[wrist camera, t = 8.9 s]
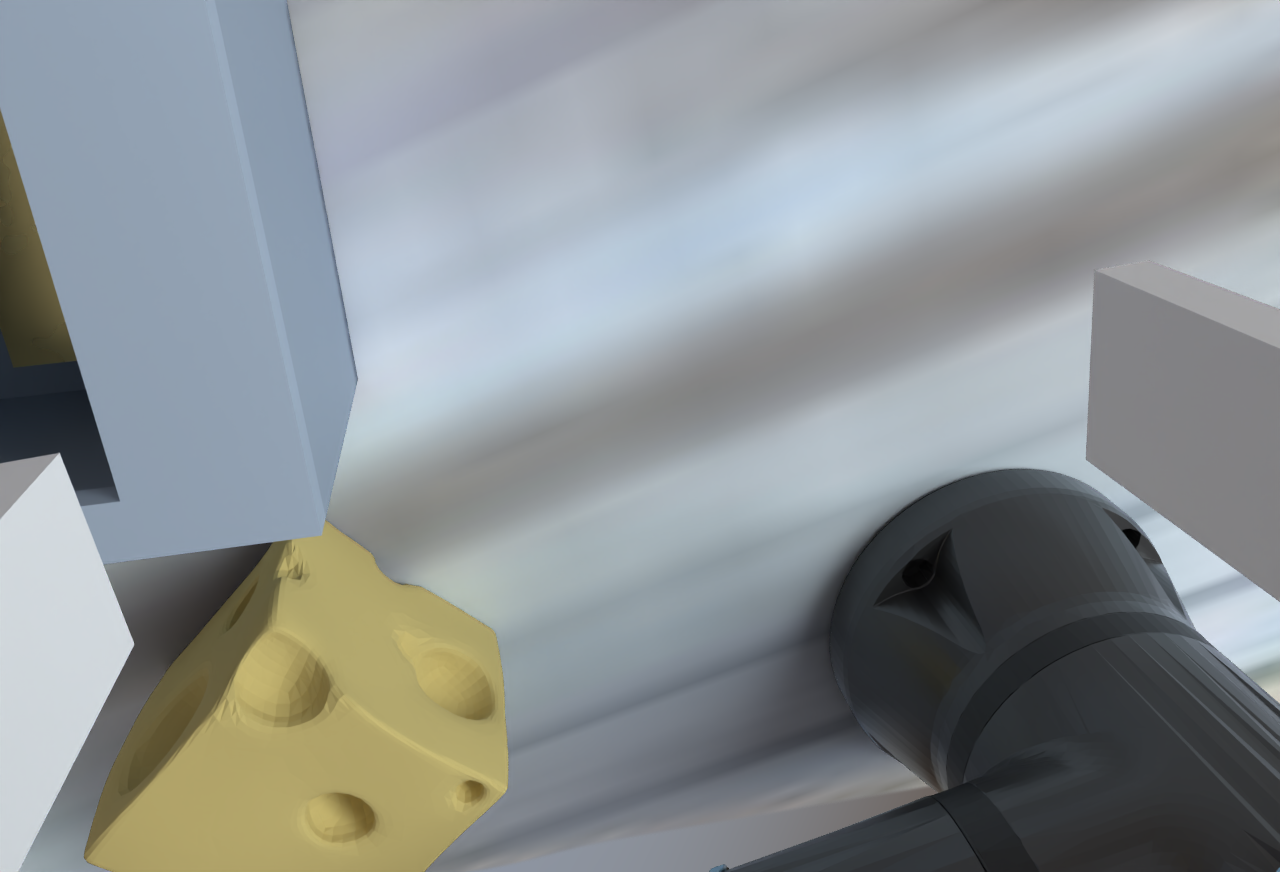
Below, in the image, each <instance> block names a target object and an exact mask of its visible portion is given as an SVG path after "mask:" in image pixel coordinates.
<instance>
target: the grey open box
mask: <svg viewBox="0 0 1280 872" xmlns="http://www.w3.org/2000/svg"><path fill="white" fill-rule="evenodd" d="M0 109H1V113H2V116H3V119H4V123H5V126H6V129H7V132H8V136H9V139H10V142H11V145H12V149H13V152H14V155H15V159H16V162H17V165H18V168H19V172H20V175H21V178H22V181H23V185H24V188H25V191H26V195H27V198H28V201H29V204H30V208H31V211H32V214H33V218H34V221H35V224H36V227H37V231H38V234H39V237H40V240H41V244H42V247H43V250H44V254H45V257H46V260H47V263H48V267H49V270H50V273H51V276H52V280H53V283H54V286H55V290H56V293H57V296H58V299H59V303H60V306H61V309H62V312H63V316H64V319H65V322H66V326H67V329H68V332H69V335H70V339H71V342H72V345H73V349H74V352H75V355H76V358H77V361H70V362H61V363H52V364H43V365H33V366H24V367H15V368H13V365H12V362H11V359H10V356H9V353H8V350H7V347H6V344H5V341H4V338H3V335H2V332H1V329H0V463H5V462H11V461H17V460H22V459H28V458H34V457H39V456H45V455H51V454H56V453H60V455H61V458H62V460H63V463H64V466H65V468H66V471H67V473H68V476H69V478H70V481H71V483H72V486H73V489H74V491H75V494H76V496H77V499H78V501H79V504H80V506H81V509H82V512H83V514H84V517H85V519H86V522H87V524H88V527H89V529H90V532H91V535H92V537H93V540H94V542H95V545H96V547H97V550H98V552H99V555H100V558H101V560H102V563H103V564H110V563H118V562H125V561H133V560H140V559H148V558H156V557H163V556H171V555H178V554H186V553H193V552H201V551H208V550H216V549H223V548H231V547H238V546H246V545H253V544H261V543H269V542H276V541H284V540H291V539H299V538H306V537H314V536H321V535H322V532H323V527H324V523H325V519H326V515H327V510H328V506H329V502H330V497H331V493H332V489H333V484H334V480H335V476H336V471H337V467H338V463H339V458H340V454H341V450H342V445H343V441H344V437H345V432H346V428H347V424H348V420H349V415H350V411H351V407H352V402H353V398H354V394H355V389H356V385H357V381H358V378H357V372H356V367H355V362H354V356H353V351H352V346H351V340H350V335H349V330H348V324H347V319H346V314H345V308H344V303H343V298H342V292H341V287H340V282H339V276H338V271H337V266H336V260H335V255H334V250H333V244H332V239H331V234H330V228H329V223H328V218H327V213H326V207H325V202H324V197H323V191H322V186H321V181H320V175H319V170H318V165H317V159H316V154H315V149H314V143H313V138H312V133H311V127H310V122H309V117H308V111H307V106H306V101H305V95H304V90H303V85H302V79H301V74H300V69H299V63H298V58H297V53H296V48H295V42H294V37H293V32H292V26H291V21H290V16H289V10H288V5H287V0H0Z"/></svg>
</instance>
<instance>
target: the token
mask: <svg viewBox="0 0 1280 872" xmlns="http://www.w3.org/2000/svg"><path fill="white" fill-rule="evenodd" d="M0 329H1V332H2V335H3V338H4V341H5V344H6V347H7V350H8V353H9V356H10V359H11V362H12V365H13V368H15V367H24V366H33V365H43V364H52V363H61V362H70V361H77V358H76V355H75V352H74V349H73V345H72V342H71V339H70V335H69V332H68V329H67V326H66V322H65V319H64V316H63V312H62V309H61V306H60V303H59V299H58V296H57V293H56V290H55V286H54V283H53V280H52V276H51V273H50V270H49V267H48V263H47V260H46V257H45V254H44V250H43V247H42V244H41V240H40V237H39V234H38V231H37V227H36V224H35V221H34V218H33V214H32V211H31V208H30V204H29V201H28V198H27V195H26V191H25V188H24V185H23V181H22V178H21V175H20V172H19V168H18V165H17V162H16V159H15V155H14V152H13V149H12V145H11V142H10V139H9V136H8V132H7V129H6V126H5V123H4V119H3V116H2V113H1V109H0Z"/></svg>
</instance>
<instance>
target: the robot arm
mask: <svg viewBox="0 0 1280 872" xmlns="http://www.w3.org/2000/svg"><path fill="white" fill-rule="evenodd" d="M1086 460H1087V461H1089V462H1090V463H1091V464H1093V465H1094V466H1095V467H1097V468H1098V469H1099V470H1101V471H1102V472H1103V473H1105V474H1106V475H1108V476H1109V477H1110V478H1112V479H1113V480H1114V481H1116V482H1117V483H1118V484H1120V485H1121V486H1123V487H1124V488H1125V489H1127V490H1128V491H1129V492H1131V493H1132V494H1133V495H1135V496H1136V497H1138V498H1139V499H1140V500H1142V501H1143V502H1144V503H1146V504H1147V505H1148V506H1150V507H1151V508H1153V509H1154V510H1155V511H1157V512H1158V513H1159V514H1161V515H1162V516H1163V517H1165V518H1166V519H1168V520H1169V521H1170V522H1172V523H1173V524H1174V525H1176V526H1177V527H1178V528H1180V529H1181V530H1183V531H1184V532H1185V533H1187V534H1188V535H1189V536H1191V537H1192V538H1193V539H1195V540H1196V541H1198V542H1199V543H1200V544H1202V545H1203V546H1204V547H1206V548H1207V549H1208V550H1210V551H1211V552H1213V553H1214V554H1215V555H1217V556H1218V557H1219V558H1221V559H1222V560H1223V561H1225V562H1226V563H1227V564H1229V565H1230V566H1232V567H1233V568H1234V569H1236V570H1237V571H1238V572H1240V573H1241V574H1242V575H1244V576H1245V577H1247V578H1248V579H1249V580H1251V581H1252V582H1253V583H1255V584H1256V585H1257V586H1259V587H1260V588H1262V589H1263V590H1264V591H1266V592H1267V593H1268V594H1270V595H1271V596H1272V597H1274V598H1275V599H1277V600H1278V601H1279V602H1280V309H1278V308H1275V307H1272V306H1270V305H1267V304H1264V303H1262V302H1259V301H1256V300H1254V299H1251V298H1248V297H1246V296H1243V295H1240V294H1238V293H1235V292H1232V291H1230V290H1227V289H1224V288H1222V287H1219V286H1216V285H1214V284H1211V283H1208V282H1206V281H1203V280H1200V279H1198V278H1195V277H1192V276H1190V275H1187V274H1184V273H1182V272H1179V271H1176V270H1174V269H1171V268H1168V267H1166V266H1163V265H1160V264H1158V263H1155V262H1152V261H1150V260H1148V261H1142V262H1137V263H1131V264H1125V265H1120V266H1114V267H1108V268H1103V269H1097V270H1094V290H1093V312H1092V335H1091V357H1090V379H1089V401H1088V423H1087V445H1086ZM133 646H134V642H133V639H132V637H131V634H130V632H129V629H128V627H127V624H126V622H125V619H124V616H123V614H122V611H121V609H120V606H119V604H118V601H117V598H116V596H115V593H114V591H113V588H112V586H111V583H110V581H109V578H108V575H107V573H106V570H105V568H104V565H103V563H102V560H101V558H100V555H99V552H98V550H97V547H96V545H95V542H94V540H93V537H92V535H91V532H90V529H89V527H88V524H87V522H86V519H85V517H84V514H83V512H82V509H81V506H80V504H79V501H78V499H77V496H76V494H75V491H74V489H73V486H72V483H71V481H70V478H69V476H68V473H67V471H66V468H65V466H64V463H63V460H62V458H61V455H60V453H56V454H51V455H45V456H39V457H34V458H28V459H22V460H17V461H11V462H5V463H0V872H18V871H19V869H20V867H21V865H22V863H23V862H24V860H25V858H26V856H27V854H28V852H29V850H30V848H31V846H32V844H33V842H34V840H35V838H36V836H37V834H38V832H39V830H40V828H41V826H42V824H43V822H44V820H45V818H46V817H47V815H48V813H49V811H50V809H51V807H52V805H53V803H54V801H55V799H56V797H57V795H58V793H59V791H60V789H61V787H62V785H63V783H64V781H65V779H66V777H67V775H68V773H69V772H70V770H71V768H72V766H73V764H74V762H75V760H76V758H77V756H78V754H79V752H80V750H81V748H82V746H83V744H84V742H85V740H86V738H87V736H88V734H89V732H90V730H91V728H92V727H93V725H94V723H95V721H96V719H97V717H98V715H99V713H100V711H101V709H102V707H103V705H104V703H105V701H106V699H107V697H108V695H109V693H110V691H111V689H112V687H113V685H114V683H115V682H116V680H117V678H118V676H119V674H120V672H121V670H122V668H123V666H124V664H125V662H126V660H127V658H128V656H129V654H130V652H131V650H132V648H133ZM830 656H831V663H832V668H833V672H834V675H835V678H836V681H837V683H838V686H839V688H840V690H841V692H842V694H843V695H844V697H845V699H846V701H847V703H848V705H849V706H850V708H851V710H852V712H853V714H854V716H855V717H856V719H857V721H858V723H859V724H860V725H861V727H862V728H863V730H864V731H865V732H866V733H867V735H868V736H869V737H870V738H871V739H872V741H873V742H874V743H875V744H876V745H877V746H878V747H880V748H881V749H882V750H883V751H884V752H886V753H887V754H888V755H890V756H891V757H893V758H894V759H896V760H898V761H899V762H901V763H902V764H904V765H905V766H906V767H907V768H908V769H909V770H911V771H912V772H913V773H914V774H915V775H917V776H918V777H919V778H920V779H921V780H923V781H924V782H925V783H926V784H928V785H929V786H930V787H931V788H933V789H934V790H935V791H936V792H938V793H937V794H935V795H932V796H926V797H923V798H921V799H918V800H915V801H913V802H910V803H908V804H905V805H902V806H900V807H897V808H895V809H892V810H890V811H887V812H884V813H882V814H879V815H876V816H874V817H871V818H869V819H866V820H863V821H861V822H858V823H855V824H853V825H851V826H848V827H845V828H842V829H840V830H837V831H835V832H832V833H829V834H826V835H823V836H821V837H818V838H815V839H812V840H810V841H807V842H804V843H801V844H798V845H796V846H793V847H790V848H787V849H785V850H782V851H779V852H776V853H773V854H771V855H768V856H765V857H762V858H760V859H757V860H754V861H751V862H748V863H745V864H743V865H740V866H737V867H734V868H732V869H729V868H728V867H727V866H726V865H724V864H723V865H720V866H717V867H714V868H712V869H711V870H710V871H709V872H1280V704H1279V703H1278V702H1277V701H1276V700H1275V699H1274V698H1273V697H1271V696H1270V695H1269V694H1268V693H1267V692H1266V691H1264V690H1263V689H1262V688H1261V687H1260V686H1259V685H1258V684H1256V683H1255V682H1254V681H1253V680H1252V679H1251V678H1249V677H1248V676H1247V675H1246V674H1245V673H1244V672H1243V671H1241V670H1240V669H1239V668H1238V667H1237V666H1236V665H1234V664H1233V663H1232V662H1231V661H1230V660H1229V659H1228V658H1226V657H1225V656H1224V655H1223V654H1222V653H1221V652H1219V651H1218V650H1217V649H1216V648H1215V647H1214V646H1212V645H1211V644H1210V643H1209V642H1208V641H1207V640H1206V639H1205V638H1204V637H1203V636H1202V635H1201V634H1199V633H1198V632H1197V631H1196V629H1195V627H1194V625H1193V623H1192V621H1191V619H1190V617H1189V615H1188V613H1187V611H1186V609H1185V607H1184V605H1183V603H1182V601H1181V599H1180V597H1179V595H1178V593H1177V591H1176V589H1175V587H1174V585H1173V583H1172V581H1171V579H1170V577H1169V575H1168V573H1167V571H1166V569H1165V567H1164V565H1163V564H1162V561H1161V559H1160V557H1159V555H1158V553H1157V551H1156V549H1155V547H1154V546H1153V544H1152V542H1151V541H1150V539H1149V538H1148V537H1147V535H1146V534H1145V533H1144V531H1143V530H1142V529H1141V528H1140V527H1139V526H1138V524H1137V523H1136V522H1135V521H1134V520H1133V519H1132V518H1131V517H1129V516H1128V515H1127V514H1126V513H1125V512H1124V511H1122V510H1121V509H1120V508H1119V507H1117V506H1116V505H1115V504H1114V503H1112V502H1111V501H1110V500H1109V499H1107V498H1106V497H1105V496H1104V495H1102V494H1101V493H1100V492H1098V491H1097V490H1096V489H1094V488H1092V487H1091V486H1089V485H1087V484H1085V483H1083V482H1081V481H1079V480H1077V479H1074V478H1072V477H1069V476H1066V475H1062V474H1059V473H1054V472H1050V471H1043V470H1032V469H1012V470H1002V471H996V472H990V473H985V474H981V475H977V476H973V477H970V478H967V479H963V480H961V481H958V482H955V483H953V484H950V485H948V486H946V487H944V488H941V489H939V490H937V491H935V492H934V493H932V494H930V495H928V496H926V497H924V498H923V499H921V500H920V501H918V502H916V503H915V504H913V505H912V506H911V507H909V508H908V509H906V510H905V511H904V512H902V513H901V514H900V515H898V516H897V517H896V518H895V519H894V520H892V521H891V522H890V523H889V524H888V525H887V526H886V527H885V528H884V529H883V530H882V531H881V532H880V533H879V534H878V535H877V536H876V537H875V538H874V539H873V540H872V541H871V543H870V544H869V545H868V546H867V547H866V549H865V550H864V551H863V553H862V554H861V555H860V557H859V558H858V560H857V561H856V563H855V564H854V566H853V567H852V569H851V571H850V572H849V574H848V576H847V578H846V580H845V582H844V584H843V586H842V588H841V591H840V593H839V596H838V599H837V602H836V605H835V608H834V612H833V617H832V622H831V629H830Z"/></svg>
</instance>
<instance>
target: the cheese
mask: <svg viewBox="0 0 1280 872" xmlns="http://www.w3.org/2000/svg"><path fill="white" fill-rule="evenodd" d="M507 788H508V747H507V731H506V722H505V698H504V681H503V672H502V666H501V659H500V653H499V648H498V643H497V638H496V634H495V632H494V631H493V630H492V629H491V628H489V627H488V626H486V625H484V624H483V623H481V622H480V621H478V620H476V619H475V618H473V617H472V616H470V615H468V614H467V613H465V612H463V611H462V610H460V609H459V608H457V607H455V606H454V605H452V604H450V603H449V602H447V601H445V600H444V599H442V598H440V597H439V596H437V595H435V594H433V593H431V592H430V591H428V590H426V589H424V588H422V587H419V586H413V585H408V584H405V585H401V584H398V583H395V582H393V581H392V580H390V579H389V578H388V577H386V576H385V575H384V574H383V573H382V572H381V571H380V570H379V568H378V567H377V565H376V563H375V558H374V557H373V555H372V554H371V553H370V552H368V551H367V550H366V549H364V548H363V547H362V546H360V545H359V544H358V543H356V542H355V541H353V540H352V539H351V538H349V537H348V536H346V535H344V534H343V533H341V532H340V531H339V530H338V529H336V528H335V527H334V526H333V525H331V524H330V523H329V522H327V521H326V520H325V523H324V527H323V532H322V535H321V536H314V537H306V538H299V539H291V540H284V541H276V542H273V543H272V545H271V546H270V548H269V549H268V550H267V552H266V553H265V555H264V556H263V558H262V559H261V560H260V561H259V563H258V564H257V565H256V567H255V568H254V569H253V570H252V572H251V573H250V574H249V575H248V576H247V578H246V579H245V580H244V581H243V582H242V583H241V584H240V586H239V587H238V588H237V589H236V590H235V591H234V593H233V594H232V595H231V596H230V597H229V598H228V600H227V601H226V602H225V603H224V604H223V606H222V607H221V608H220V609H219V610H218V611H217V613H216V614H215V615H214V616H213V617H212V619H211V620H210V621H209V622H208V623H207V624H206V626H205V627H204V628H203V629H202V630H201V631H200V633H199V634H198V635H197V636H196V637H195V638H194V640H193V641H192V642H191V643H190V644H189V645H188V646H187V647H186V649H185V650H184V651H183V652H182V653H181V654H180V655H179V656H178V657H177V659H176V660H175V661H174V662H173V664H172V665H171V666H170V667H169V668H168V670H167V671H166V673H165V674H164V676H163V678H162V679H161V681H160V682H159V684H158V685H157V686H156V688H155V689H154V691H153V692H152V694H151V695H150V697H149V699H148V700H147V702H146V703H145V705H144V707H143V708H142V710H141V712H140V714H139V715H138V717H137V719H136V721H135V723H134V725H133V727H132V729H131V731H130V733H129V735H128V737H127V739H126V740H125V742H124V744H123V746H122V748H121V750H120V752H119V754H118V756H117V758H116V760H115V762H114V764H113V767H112V769H111V771H110V773H109V776H108V778H107V781H106V783H105V786H104V789H103V792H102V795H101V797H100V800H99V804H98V807H97V810H96V813H95V816H94V820H93V823H92V826H91V830H90V834H89V837H88V841H87V844H86V848H85V853H84V859H85V860H86V861H87V862H88V863H90V864H92V865H95V866H98V867H100V868H103V869H106V870H109V871H112V872H425V871H426V869H427V868H428V867H429V866H430V865H431V864H432V863H433V862H434V861H435V860H436V859H437V858H438V857H439V856H440V855H441V854H442V853H443V852H444V851H445V850H446V849H447V848H448V847H449V846H450V845H451V844H452V843H453V842H454V841H455V840H456V839H457V838H458V837H459V836H460V835H461V834H462V833H463V832H464V831H465V830H466V829H467V828H469V827H470V826H471V825H472V824H473V823H474V822H475V821H476V820H477V819H478V818H479V817H481V816H482V815H483V814H484V813H485V812H486V811H487V810H488V809H489V808H490V807H491V806H492V805H493V804H495V803H496V802H497V801H498V800H499V799H500V798H501V797H502V795H503V794H504V793H505V792H506V790H507Z"/></svg>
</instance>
